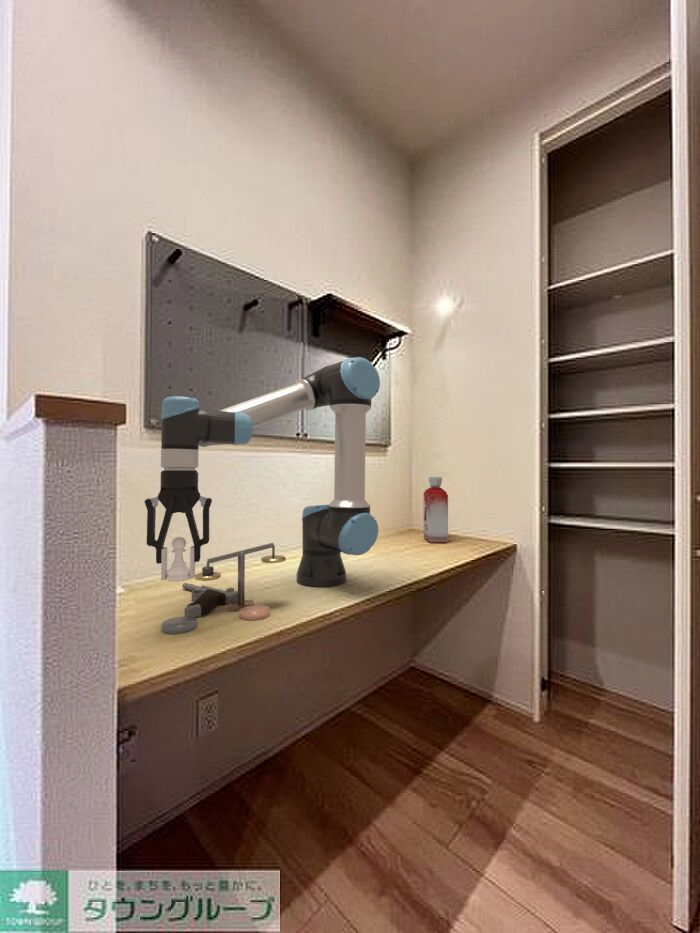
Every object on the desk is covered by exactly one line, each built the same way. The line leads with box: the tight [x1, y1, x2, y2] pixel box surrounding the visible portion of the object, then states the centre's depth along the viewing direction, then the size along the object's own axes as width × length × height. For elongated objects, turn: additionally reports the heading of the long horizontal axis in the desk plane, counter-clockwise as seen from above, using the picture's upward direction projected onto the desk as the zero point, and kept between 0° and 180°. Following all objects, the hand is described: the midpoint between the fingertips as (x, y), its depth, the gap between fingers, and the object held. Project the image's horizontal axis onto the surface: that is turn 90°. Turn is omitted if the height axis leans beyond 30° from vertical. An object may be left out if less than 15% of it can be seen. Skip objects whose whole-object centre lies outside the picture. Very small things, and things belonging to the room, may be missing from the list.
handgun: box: [181, 582, 238, 618], centre depth 110 cm, size 3×24×15 cm
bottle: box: [422, 476, 449, 544], centre depth 200 cm, size 14×10×30 cm
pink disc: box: [238, 604, 271, 621], centre depth 100 cm, size 7×7×1 cm
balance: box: [194, 542, 287, 613], centre depth 105 cm, size 22×6×16 cm, turn 105°
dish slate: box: [161, 616, 198, 635], centre depth 92 cm, size 7×7×1 cm
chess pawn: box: [165, 536, 190, 583], centre depth 92 cm, size 5×5×9 cm
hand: (178, 577), depth 92 cm, fingers closed on chess pawn, 5 cm apart
